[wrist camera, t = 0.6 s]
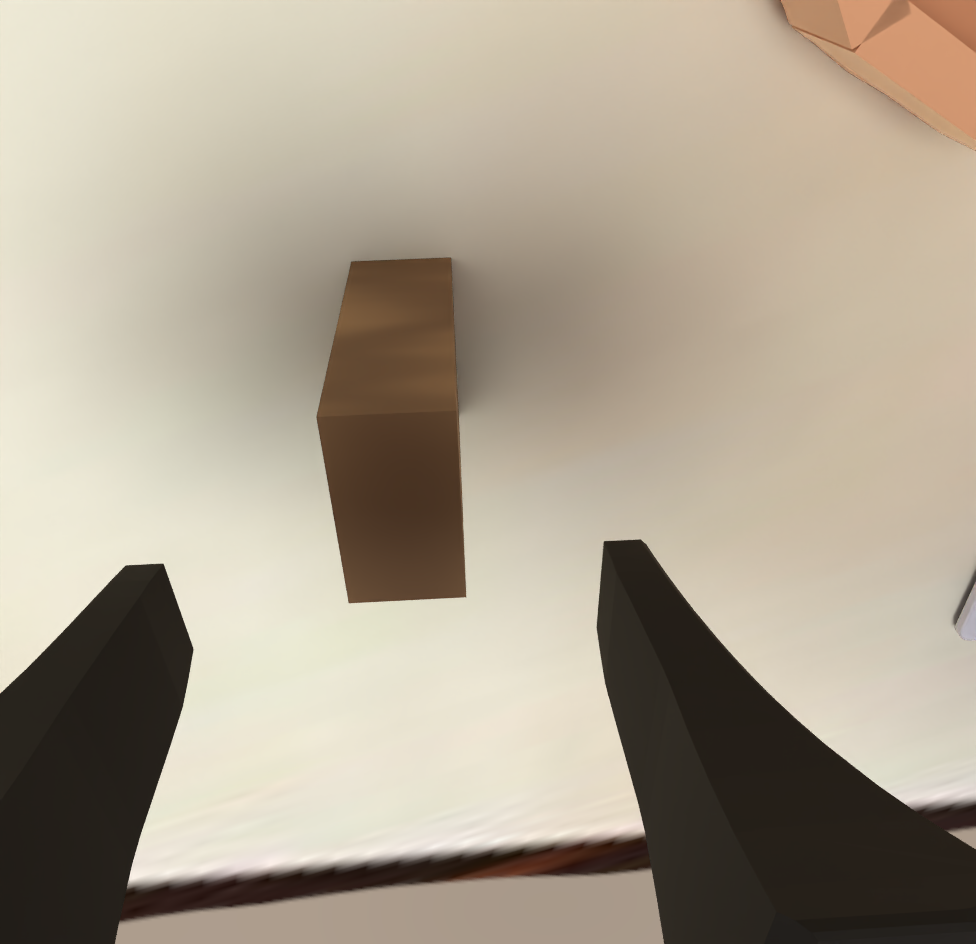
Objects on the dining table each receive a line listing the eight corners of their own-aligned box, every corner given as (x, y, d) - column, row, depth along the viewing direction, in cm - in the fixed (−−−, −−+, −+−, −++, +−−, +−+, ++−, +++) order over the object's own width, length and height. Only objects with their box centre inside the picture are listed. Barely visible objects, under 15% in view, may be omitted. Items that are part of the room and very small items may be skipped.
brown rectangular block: (451, 257, 20) (456, 410, 14) (458, 414, 22) (466, 597, 17) (351, 261, 19) (316, 416, 14) (371, 419, 22) (348, 603, 16)
